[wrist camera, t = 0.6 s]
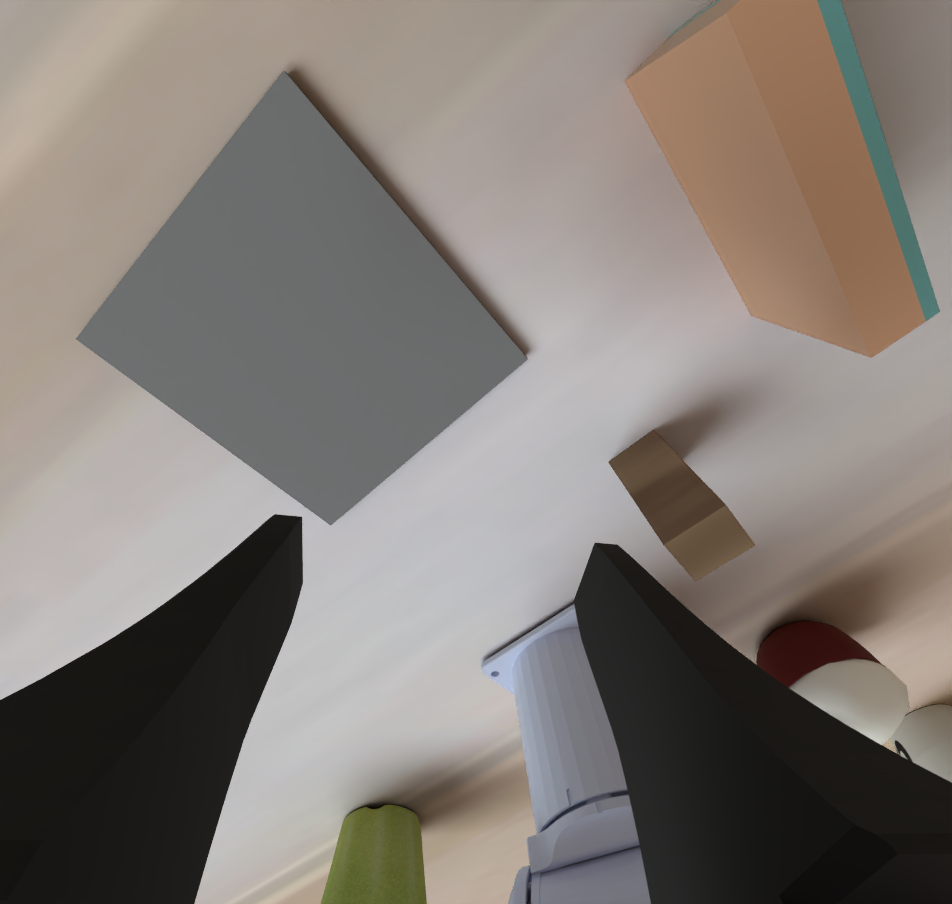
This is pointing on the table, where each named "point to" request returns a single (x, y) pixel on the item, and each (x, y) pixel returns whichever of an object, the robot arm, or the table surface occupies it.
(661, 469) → the stick
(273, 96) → the mat
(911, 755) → the cup
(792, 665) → the cocoa
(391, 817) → the plant pot
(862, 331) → the tile
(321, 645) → the table surface
